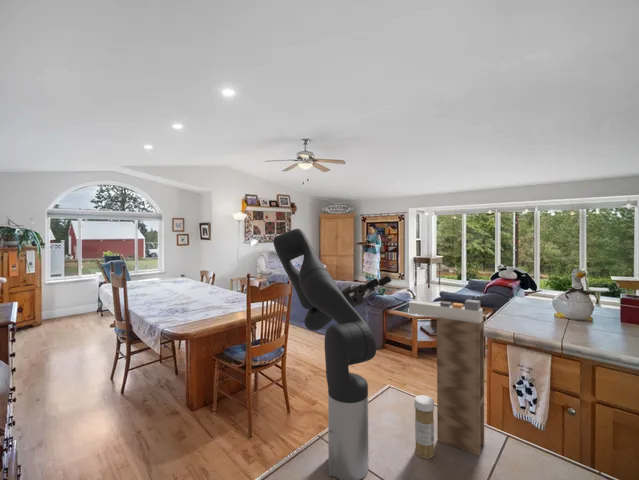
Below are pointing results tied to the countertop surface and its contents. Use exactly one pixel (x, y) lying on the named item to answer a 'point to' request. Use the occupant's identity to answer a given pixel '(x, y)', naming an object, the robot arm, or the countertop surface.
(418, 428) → the sprinkles bottle
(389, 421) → the countertop surface
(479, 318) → the power strip
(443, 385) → the tall wooden block
